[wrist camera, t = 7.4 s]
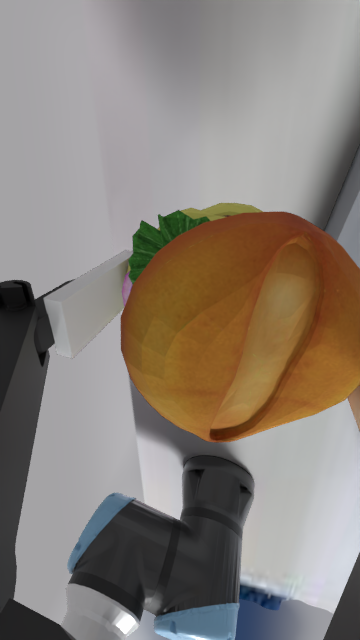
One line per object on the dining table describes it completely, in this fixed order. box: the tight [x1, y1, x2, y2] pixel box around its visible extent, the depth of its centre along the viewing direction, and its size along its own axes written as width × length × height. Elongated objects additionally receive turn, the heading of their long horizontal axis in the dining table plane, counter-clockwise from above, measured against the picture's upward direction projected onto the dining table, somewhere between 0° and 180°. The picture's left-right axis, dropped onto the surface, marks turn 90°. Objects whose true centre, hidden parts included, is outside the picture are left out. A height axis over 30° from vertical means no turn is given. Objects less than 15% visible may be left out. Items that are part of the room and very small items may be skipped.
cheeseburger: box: [121, 203, 360, 442], centre depth 12 cm, size 10×11×10 cm
